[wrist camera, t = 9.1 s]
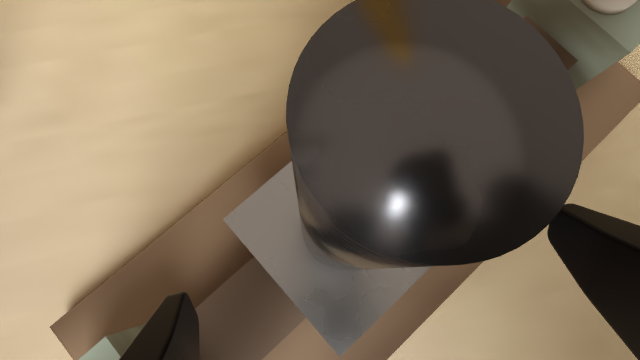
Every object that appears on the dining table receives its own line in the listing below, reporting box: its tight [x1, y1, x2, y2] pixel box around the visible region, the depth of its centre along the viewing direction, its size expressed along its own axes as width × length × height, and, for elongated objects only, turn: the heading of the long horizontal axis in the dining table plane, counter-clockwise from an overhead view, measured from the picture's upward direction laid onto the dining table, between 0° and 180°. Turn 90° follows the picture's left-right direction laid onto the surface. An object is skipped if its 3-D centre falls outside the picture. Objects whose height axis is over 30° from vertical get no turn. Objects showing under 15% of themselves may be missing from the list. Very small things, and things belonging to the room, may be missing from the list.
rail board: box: [50, 0, 640, 360], centre depth 16 cm, size 10×27×5 cm, turn 132°
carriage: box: [223, 0, 584, 357], centre depth 9 cm, size 6×6×11 cm
